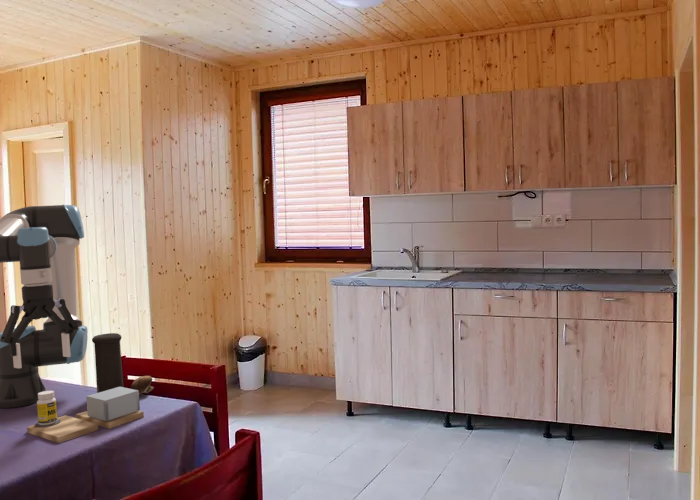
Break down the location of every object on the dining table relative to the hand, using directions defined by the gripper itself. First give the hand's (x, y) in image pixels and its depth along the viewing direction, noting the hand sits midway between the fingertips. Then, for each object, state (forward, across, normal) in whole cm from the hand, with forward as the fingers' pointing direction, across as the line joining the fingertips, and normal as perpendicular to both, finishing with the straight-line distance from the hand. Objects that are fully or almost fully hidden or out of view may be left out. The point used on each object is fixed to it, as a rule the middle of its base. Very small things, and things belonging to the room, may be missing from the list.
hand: (43, 362), depth 171 cm
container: (+19, +28, +13) cm, 36 cm away
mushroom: (+19, +34, +5) cm, 39 cm away
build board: (+18, +1, -6) cm, 19 cm away
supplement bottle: (+17, 0, 0) cm, 17 cm away
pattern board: (+18, +14, -8) cm, 24 cm away
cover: (+17, +14, -10) cm, 24 cm away
